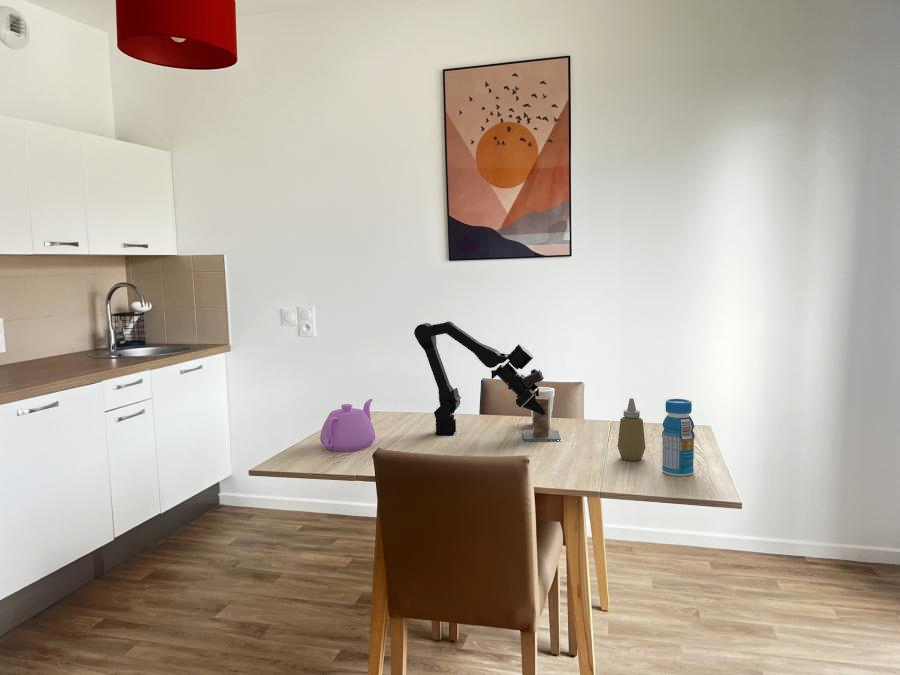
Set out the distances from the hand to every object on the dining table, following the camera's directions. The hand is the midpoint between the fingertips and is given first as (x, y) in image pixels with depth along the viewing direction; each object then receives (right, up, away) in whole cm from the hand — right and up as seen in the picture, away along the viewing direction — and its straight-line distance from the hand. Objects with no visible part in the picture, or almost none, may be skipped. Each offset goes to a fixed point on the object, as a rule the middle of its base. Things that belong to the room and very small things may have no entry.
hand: (545, 412), depth 231 cm
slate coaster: (-1, -8, +1) cm, 9 cm away
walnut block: (-1, -8, +1) cm, 8 cm away
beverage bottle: (+30, -12, -42) cm, 54 cm away
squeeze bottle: (+22, -11, -28) cm, 37 cm away
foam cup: (+1, -7, +20) cm, 21 cm away
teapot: (-65, -11, -5) cm, 66 cm away
